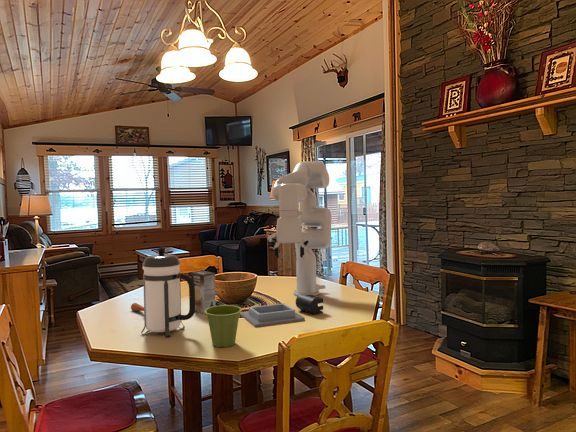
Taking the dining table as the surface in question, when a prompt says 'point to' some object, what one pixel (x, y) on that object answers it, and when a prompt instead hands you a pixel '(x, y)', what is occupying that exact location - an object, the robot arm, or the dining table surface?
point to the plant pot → (223, 324)
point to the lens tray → (271, 315)
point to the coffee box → (204, 290)
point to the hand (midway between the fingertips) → (289, 257)
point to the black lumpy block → (309, 304)
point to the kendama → (137, 307)
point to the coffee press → (164, 293)
